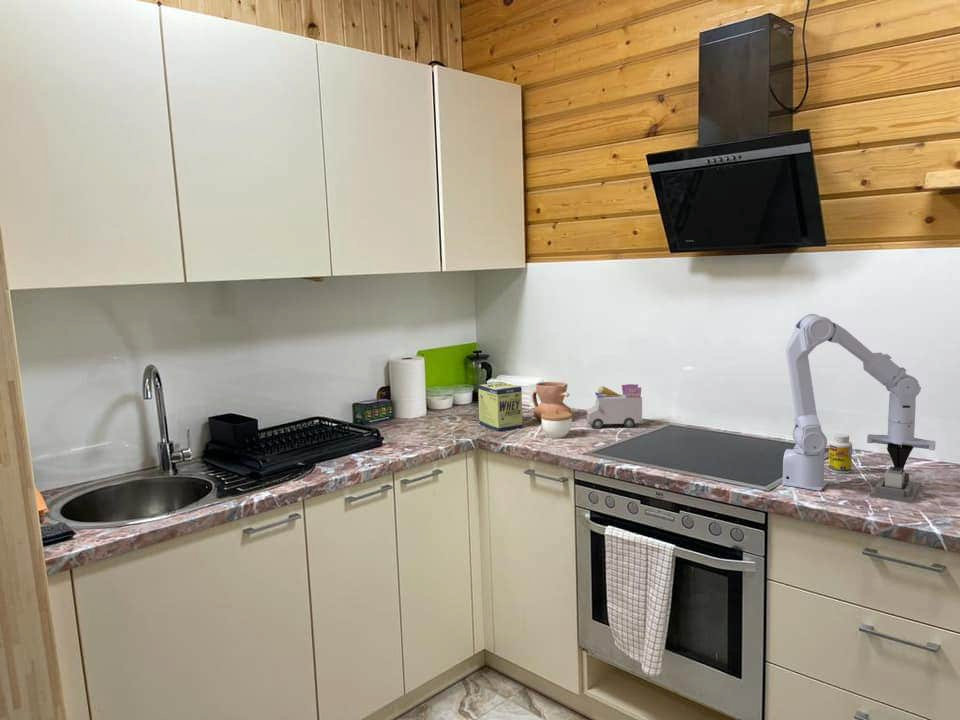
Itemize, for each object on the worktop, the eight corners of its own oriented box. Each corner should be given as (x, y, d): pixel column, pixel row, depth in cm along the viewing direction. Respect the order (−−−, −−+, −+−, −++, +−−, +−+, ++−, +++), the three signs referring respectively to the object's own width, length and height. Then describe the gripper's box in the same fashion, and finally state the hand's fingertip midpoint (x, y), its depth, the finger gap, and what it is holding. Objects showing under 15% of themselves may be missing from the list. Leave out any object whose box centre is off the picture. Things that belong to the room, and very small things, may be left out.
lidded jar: (578, 437, 239) (578, 410, 238) (551, 441, 234) (551, 414, 233) (561, 431, 248) (561, 405, 247) (535, 435, 244) (535, 408, 243)
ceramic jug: (581, 419, 265) (580, 382, 264) (556, 425, 256) (555, 387, 254) (546, 414, 279) (545, 379, 277) (521, 420, 269) (520, 383, 268)
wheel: (887, 480, 175) (887, 474, 175) (890, 476, 179) (890, 469, 178) (907, 483, 173) (907, 476, 172) (910, 479, 176) (910, 472, 176)
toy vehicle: (585, 424, 258) (585, 384, 256) (638, 422, 257) (638, 382, 255) (588, 430, 249) (588, 388, 247) (643, 428, 248) (643, 387, 246)
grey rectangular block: (884, 492, 170) (885, 470, 169) (887, 487, 173) (888, 465, 173) (900, 494, 168) (902, 472, 167) (903, 489, 171) (904, 467, 170)
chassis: (869, 496, 170) (870, 486, 170) (880, 480, 182) (881, 471, 181) (912, 503, 165) (913, 493, 164) (921, 486, 176) (921, 476, 176)
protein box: (498, 432, 250) (497, 389, 248) (478, 424, 264) (477, 384, 262) (523, 428, 255) (522, 386, 253) (502, 420, 268) (501, 381, 266)
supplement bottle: (824, 471, 192) (825, 434, 190) (834, 467, 195) (835, 431, 194) (845, 475, 187) (846, 438, 186) (855, 471, 190) (856, 434, 189)
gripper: (865, 421, 175) (863, 473, 177) (933, 427, 166) (931, 482, 168) (870, 415, 180) (869, 466, 182) (937, 421, 171) (934, 475, 173)
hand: (899, 473), depth 175 cm, fingers closed, pressing on wheel
